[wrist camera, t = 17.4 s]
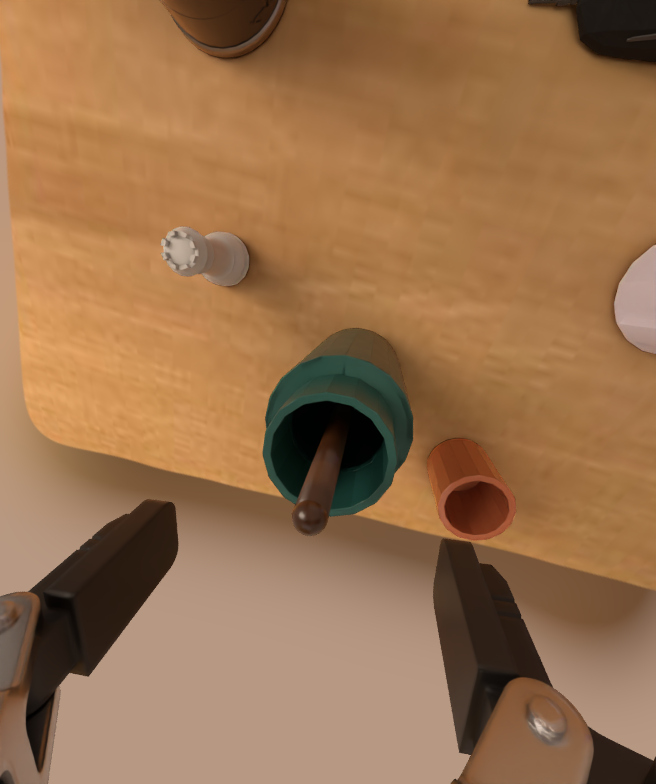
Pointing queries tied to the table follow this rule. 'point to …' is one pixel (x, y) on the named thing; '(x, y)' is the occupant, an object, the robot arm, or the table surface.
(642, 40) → the gaming mouse
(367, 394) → the teal bottle
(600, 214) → the table surface
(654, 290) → the soap bottle
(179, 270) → the rook chess piece
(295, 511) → the brush
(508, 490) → the brush pot
